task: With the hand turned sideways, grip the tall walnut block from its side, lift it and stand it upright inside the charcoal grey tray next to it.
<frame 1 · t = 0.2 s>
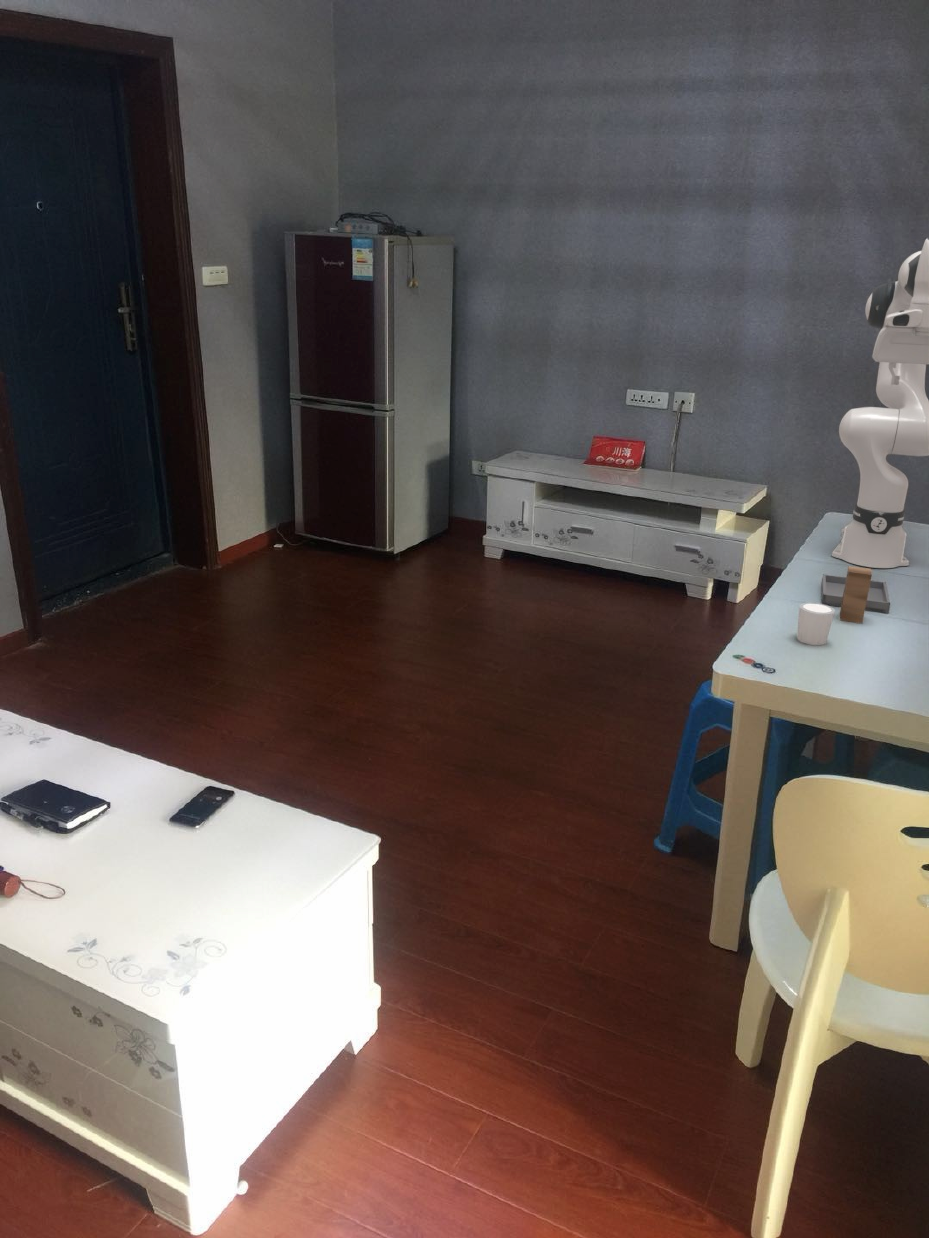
hand: (918, 386, 206), 48 cm above the table, tool pointing down, fingers open, 8 cm apart
walnut block: (850, 618, 209), on the table
charcoal tray: (853, 598, 222), on the table
white cup: (811, 640, 196), on the table
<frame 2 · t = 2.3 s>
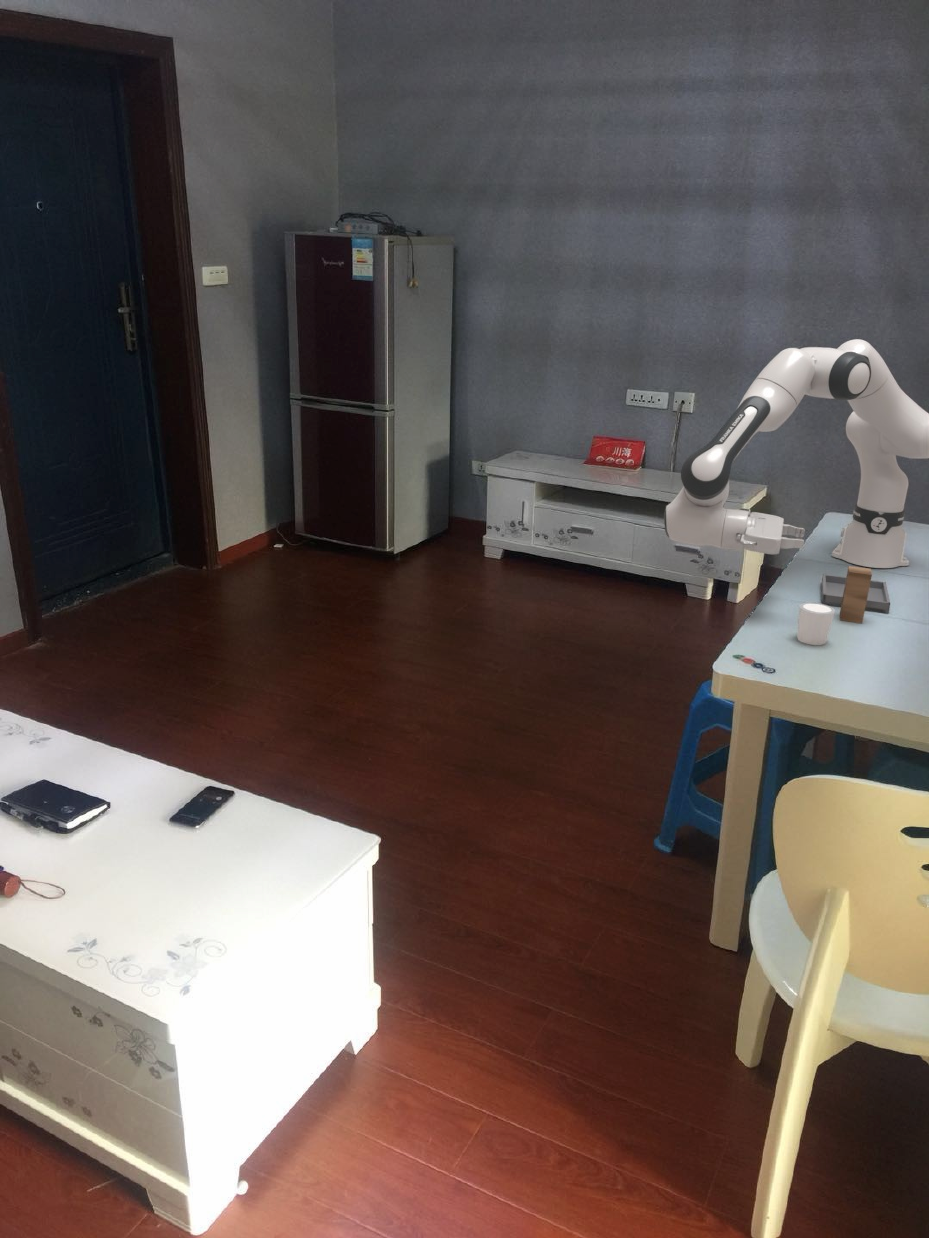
hand: (804, 538, 206), 16 cm above the table, tool horizontal, fingers open, 8 cm apart
nothing on the table moved.
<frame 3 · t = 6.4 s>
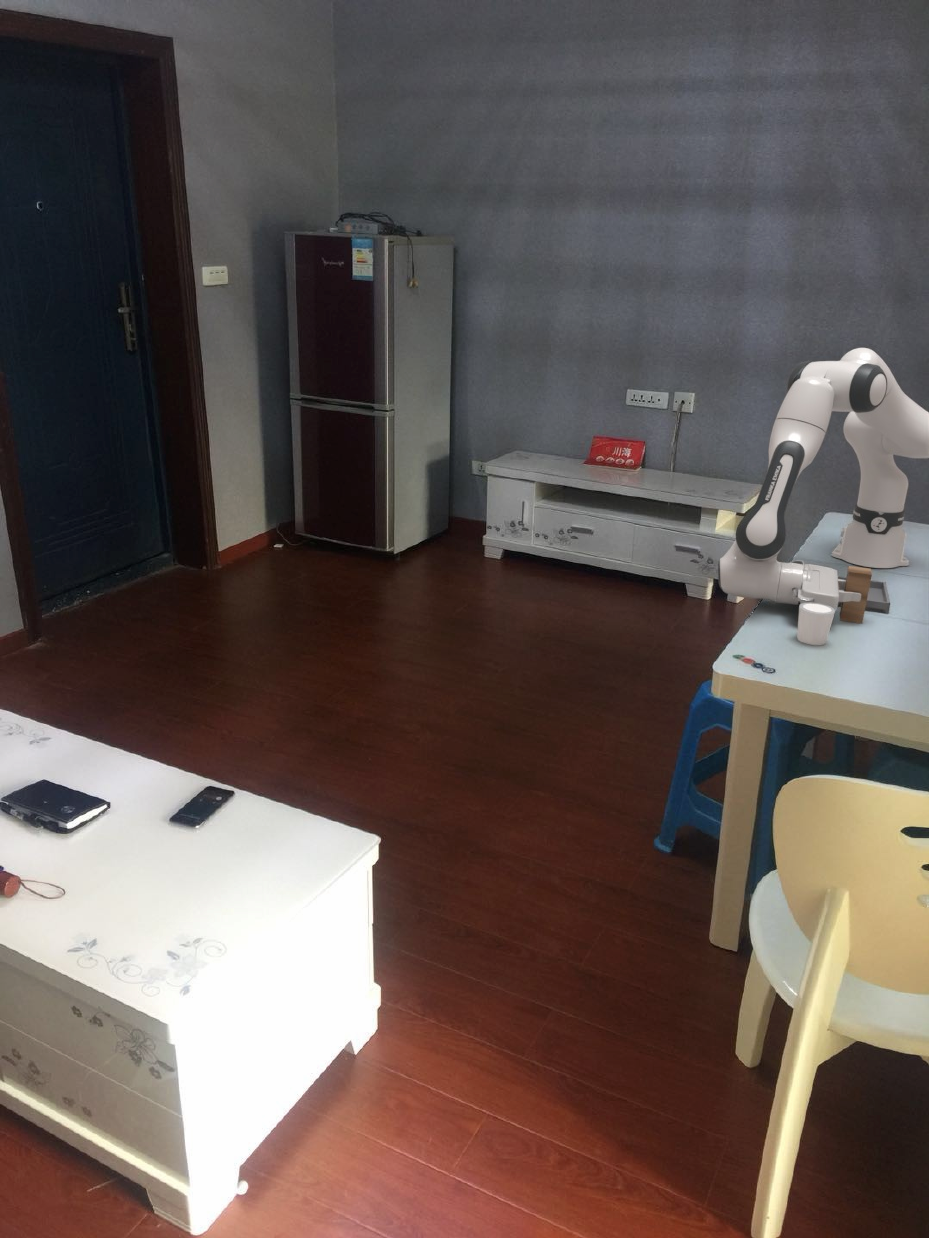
hand: (860, 592, 206), 6 cm above the table, tool horizontal, fingers closed on walnut block, 4 cm apart
walnut block: (850, 618, 209), on the table, touching gripper
everything else where it was.
when the fingers open (8 cm above the table, at t = 10.9 s): walnut block drops 1 cm, resting on charcoal tray.
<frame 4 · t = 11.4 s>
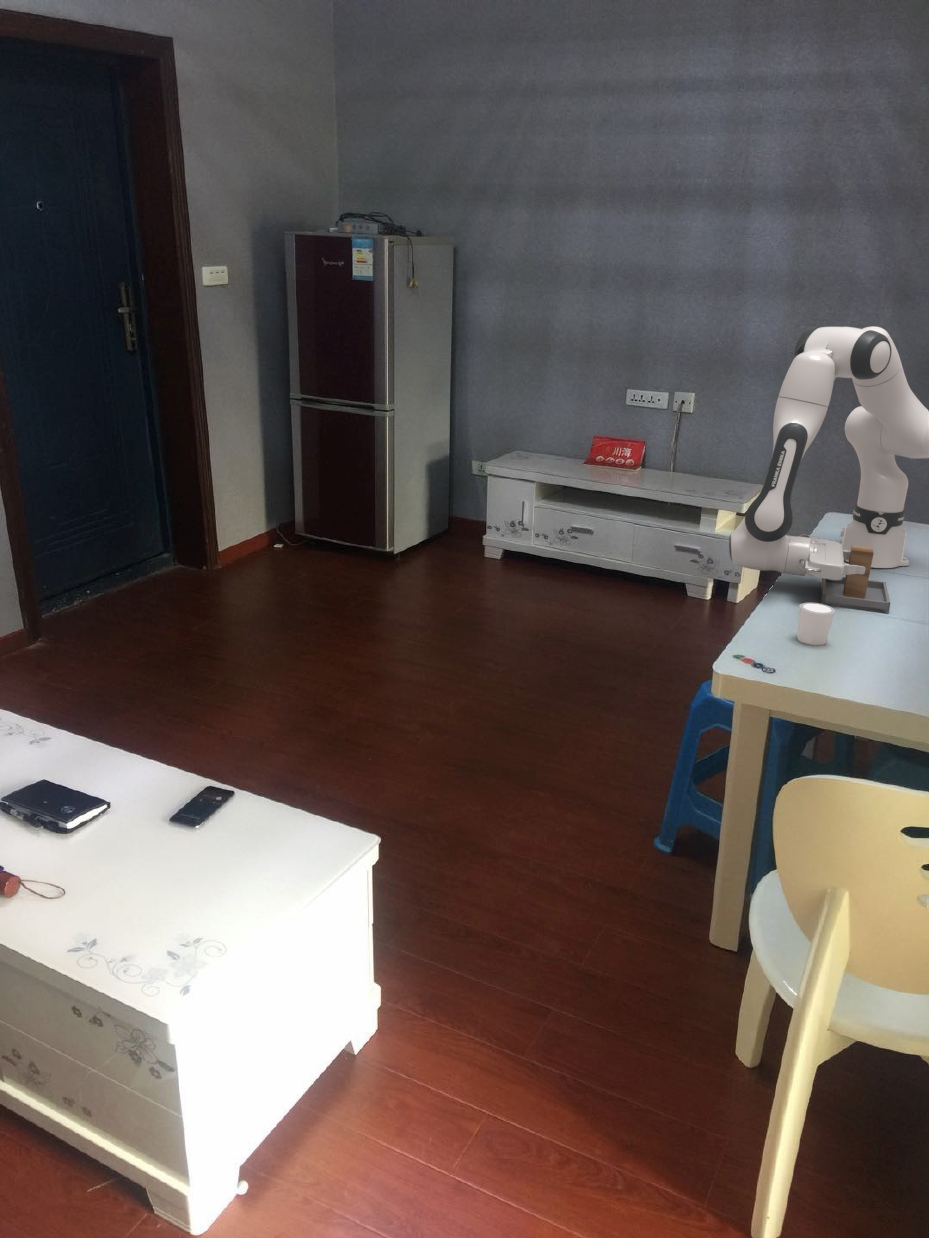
hand: (864, 564, 219), 8 cm above the table, tool horizontal, fingers open, 8 cm apart
walnut block: (853, 594, 222), point 1 cm above the table, touching charcoal tray
everything else where it was.
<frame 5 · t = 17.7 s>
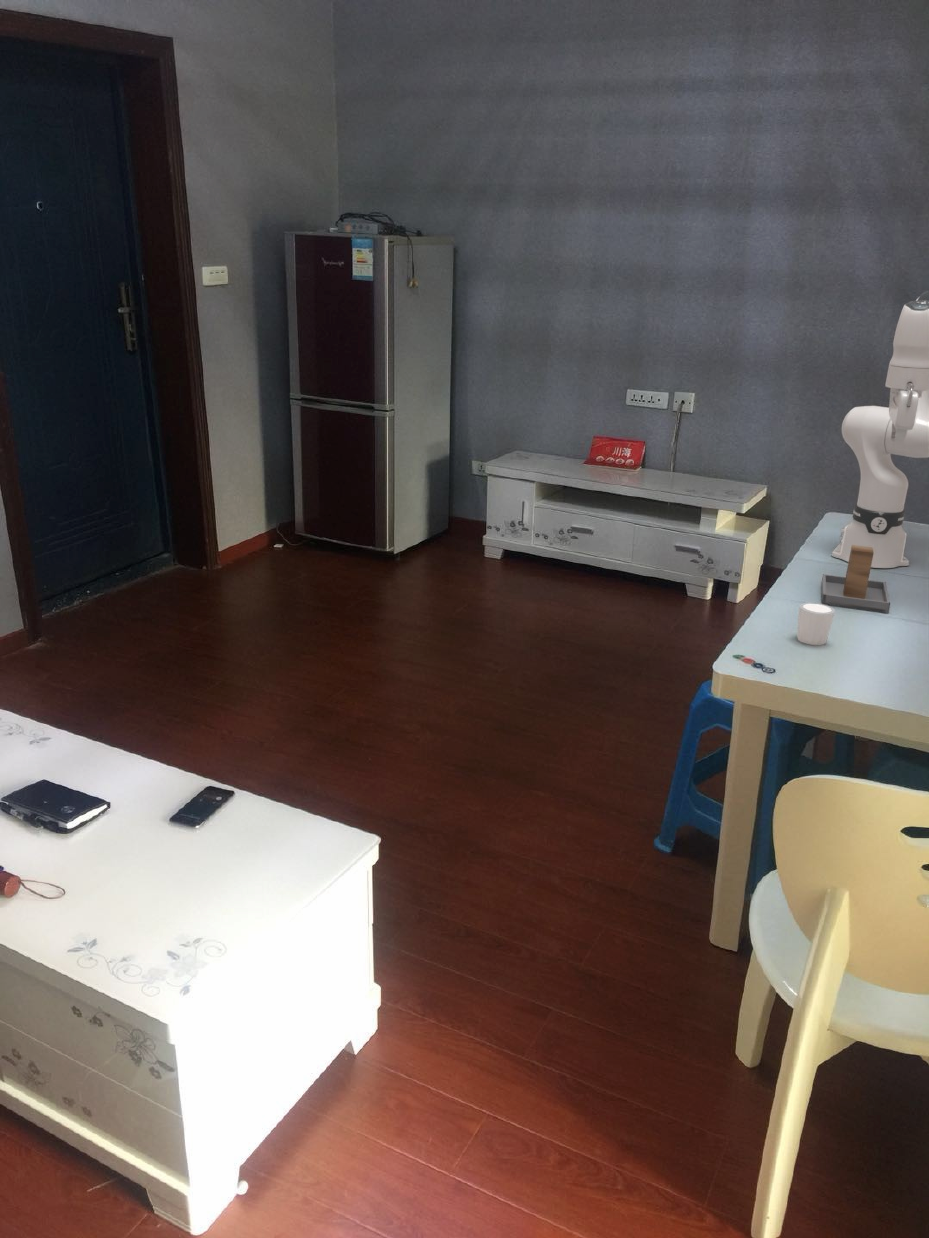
hand: (896, 444, 212), 35 cm above the table, tool pointing down, fingers open, 8 cm apart
nothing on the table moved.
at the end: walnut block inside the target area on the charcoal tray (0.0 cm from its centre), point 0.8 cm above the charcoal tray's base; walnut block tilted 0°; the gripper is holding nothing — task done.
